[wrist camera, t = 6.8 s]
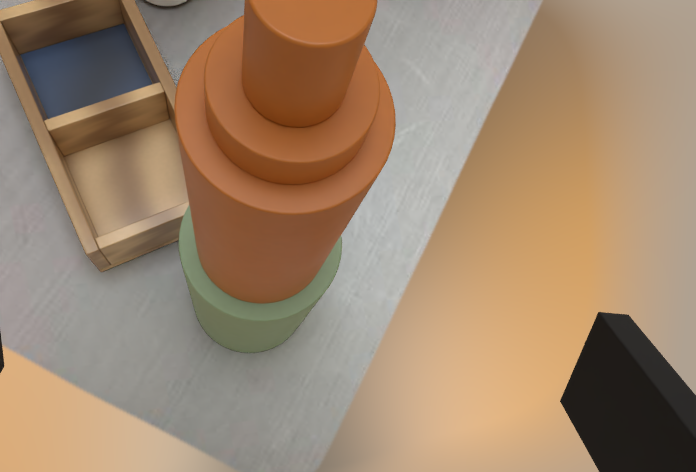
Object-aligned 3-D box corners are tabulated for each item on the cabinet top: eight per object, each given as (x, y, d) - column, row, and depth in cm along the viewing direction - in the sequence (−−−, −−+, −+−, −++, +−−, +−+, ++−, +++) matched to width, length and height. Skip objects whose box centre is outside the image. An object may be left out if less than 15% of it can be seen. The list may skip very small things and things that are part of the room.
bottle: (229, 325, 28) (235, 176, 11) (175, 208, 29) (102, -97, 12) (347, 271, 29) (512, 67, 12) (292, 162, 30) (375, -163, 13)
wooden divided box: (101, 272, 41) (85, 255, 36) (6, 54, 44) (-18, 14, 39) (229, 219, 43) (229, 197, 39) (132, 17, 46) (122, -25, 42)
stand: (222, 372, 40) (220, 350, 27) (175, 269, 42) (151, 200, 29) (325, 322, 43) (369, 278, 29) (277, 226, 44) (299, 143, 31)
